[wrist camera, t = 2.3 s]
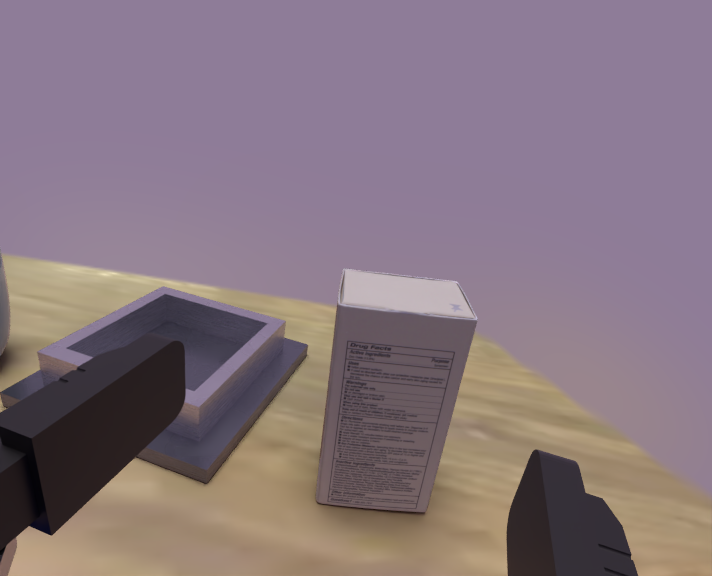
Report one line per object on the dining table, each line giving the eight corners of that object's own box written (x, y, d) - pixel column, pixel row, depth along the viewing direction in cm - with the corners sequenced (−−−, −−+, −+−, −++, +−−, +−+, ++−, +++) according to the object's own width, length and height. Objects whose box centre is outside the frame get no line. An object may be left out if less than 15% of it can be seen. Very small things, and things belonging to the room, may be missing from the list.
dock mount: (3, 405, 26) (-9, 357, 25) (161, 311, 39) (159, 275, 37) (206, 483, 23) (206, 434, 22) (306, 355, 36) (311, 318, 34)
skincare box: (417, 456, 27) (465, 280, 22) (427, 517, 23) (487, 320, 18) (316, 444, 27) (341, 263, 22) (308, 504, 23) (337, 300, 18)
